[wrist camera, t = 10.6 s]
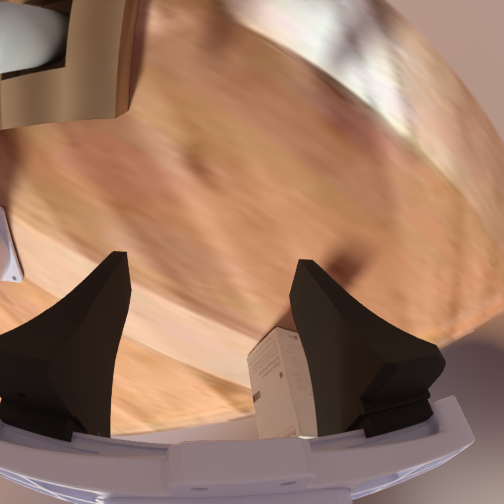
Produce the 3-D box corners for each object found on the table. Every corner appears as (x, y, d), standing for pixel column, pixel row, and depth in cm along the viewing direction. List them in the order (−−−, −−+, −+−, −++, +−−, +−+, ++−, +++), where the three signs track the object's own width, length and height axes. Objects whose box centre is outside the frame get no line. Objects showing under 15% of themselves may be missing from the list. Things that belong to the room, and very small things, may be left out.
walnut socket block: (-7, 125, 15) (-29, 135, 13) (3, -15, 9) (-18, -19, 6) (128, 110, 17) (115, 118, 15) (149, -50, 11) (140, -65, 8)
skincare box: (274, 324, 30) (299, 435, 20) (309, 334, 32) (340, 436, 22) (244, 358, 33) (258, 459, 23) (277, 366, 35) (297, 460, 25)
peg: (29, 72, 14) (-35, 88, 8) (27, 23, 11) (-36, 22, 6) (76, 56, 14) (19, 61, 8) (75, 4, 12) (19, -11, 6)
